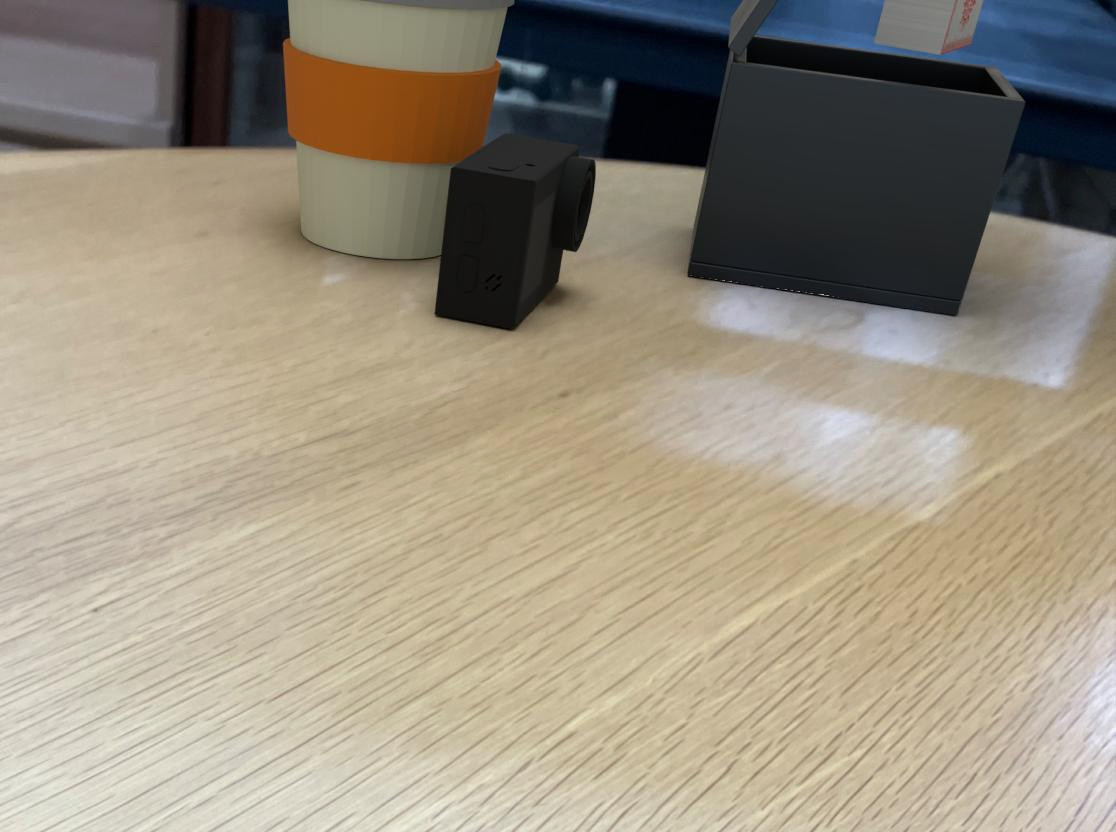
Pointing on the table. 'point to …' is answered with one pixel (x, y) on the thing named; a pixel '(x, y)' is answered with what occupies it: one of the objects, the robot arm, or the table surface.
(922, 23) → the small milk carton
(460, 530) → the table surface
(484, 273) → the digital camera
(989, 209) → the bin
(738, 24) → the bin lid
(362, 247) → the reusable coffee cup
